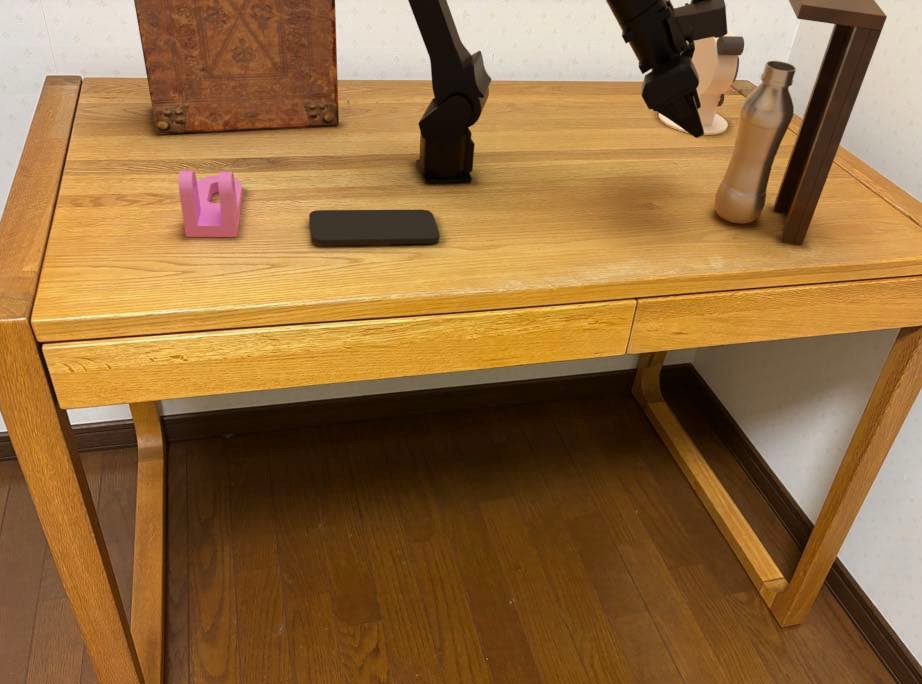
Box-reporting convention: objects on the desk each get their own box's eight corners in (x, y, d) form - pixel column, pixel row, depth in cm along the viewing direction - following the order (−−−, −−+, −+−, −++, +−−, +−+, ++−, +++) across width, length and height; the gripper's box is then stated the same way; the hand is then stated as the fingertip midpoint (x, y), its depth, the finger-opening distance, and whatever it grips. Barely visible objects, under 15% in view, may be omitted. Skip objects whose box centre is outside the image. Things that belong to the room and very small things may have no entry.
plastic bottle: (761, 213, 115) (810, 63, 102) (755, 234, 110) (806, 79, 97) (714, 202, 116) (756, 52, 104) (706, 222, 111) (750, 68, 99)
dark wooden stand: (730, 234, 109) (801, 4, 92) (725, 200, 117) (790, -18, 99) (802, 245, 109) (887, 16, 91) (792, 210, 117) (869, -7, 99)
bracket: (236, 237, 97) (230, 180, 93) (186, 236, 96) (177, 179, 92) (244, 186, 107) (238, 133, 103) (198, 185, 106) (190, 131, 102)
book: (326, 102, 131) (318, -123, 111) (339, 126, 124) (333, -109, 105) (151, 109, 122) (111, -133, 103) (155, 135, 116) (114, -118, 97)
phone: (441, 238, 100) (311, 240, 96) (440, 244, 100) (312, 246, 97) (431, 209, 105) (308, 209, 102) (431, 215, 106) (308, 216, 102)
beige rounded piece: (740, 136, 136) (769, 39, 126) (676, 137, 133) (700, 38, 124) (708, 107, 145) (733, 15, 135) (648, 107, 142) (668, 13, 132)
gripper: (707, -12, 88) (768, 115, 95) (700, -50, 102) (753, 63, 110) (613, 47, 93) (678, 164, 100) (619, 3, 107) (675, 108, 115)
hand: (698, 121), depth 106 cm, fingers open, 9 cm apart
